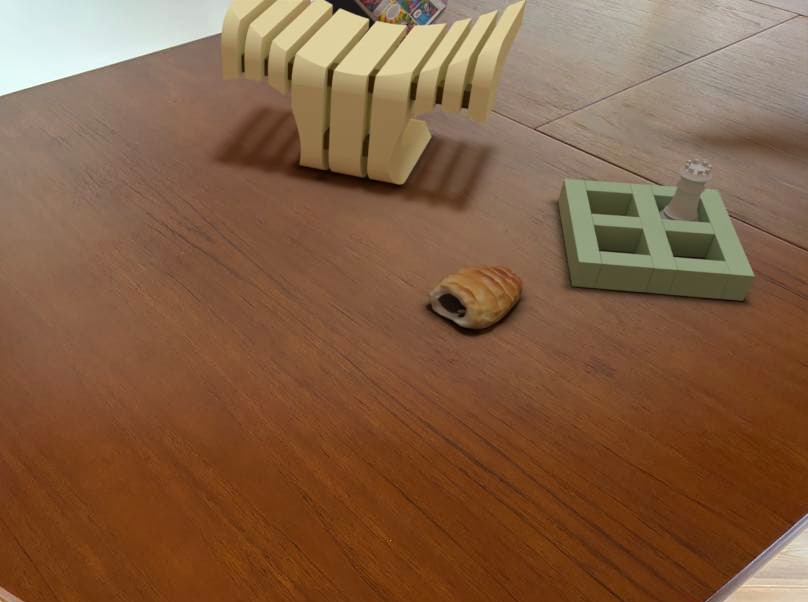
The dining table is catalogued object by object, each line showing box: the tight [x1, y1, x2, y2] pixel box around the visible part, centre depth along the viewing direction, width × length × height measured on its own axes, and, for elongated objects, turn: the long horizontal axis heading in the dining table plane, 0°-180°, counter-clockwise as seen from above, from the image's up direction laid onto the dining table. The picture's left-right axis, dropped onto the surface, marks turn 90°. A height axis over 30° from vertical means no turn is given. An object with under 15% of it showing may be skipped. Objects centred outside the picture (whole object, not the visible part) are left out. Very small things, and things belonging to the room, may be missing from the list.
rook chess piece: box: [659, 158, 713, 222], centre depth 90 cm, size 4×4×8 cm
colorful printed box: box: [311, 0, 449, 53], centre depth 121 cm, size 20×22×18 cm
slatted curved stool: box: [220, 0, 527, 186], centre depth 100 cm, size 30×16×18 cm, turn 67°
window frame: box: [557, 178, 755, 302], centre depth 90 cm, size 16×16×3 cm
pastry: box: [428, 265, 524, 330], centre depth 83 cm, size 9×7×4 cm
